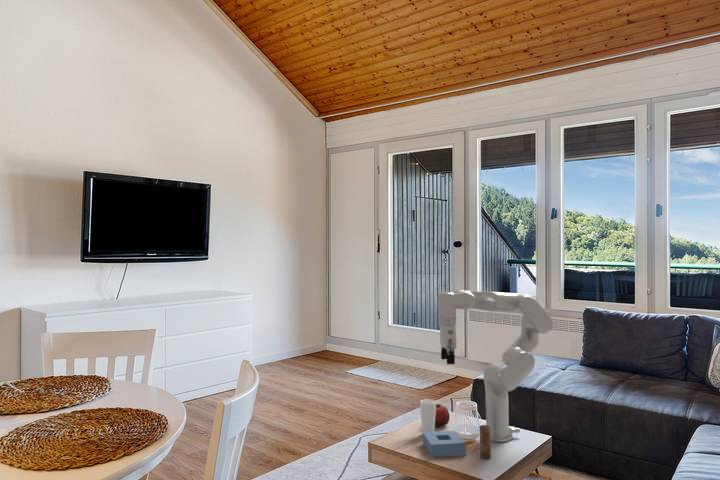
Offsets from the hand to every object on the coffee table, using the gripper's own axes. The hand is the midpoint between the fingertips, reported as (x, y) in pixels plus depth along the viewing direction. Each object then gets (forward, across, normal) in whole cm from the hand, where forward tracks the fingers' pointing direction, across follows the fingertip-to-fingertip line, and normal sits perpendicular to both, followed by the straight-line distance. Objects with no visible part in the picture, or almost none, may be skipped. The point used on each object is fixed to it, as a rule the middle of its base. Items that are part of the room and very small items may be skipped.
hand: (447, 361), depth 223 cm
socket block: (+34, -7, +4) cm, 35 cm away
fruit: (+35, +21, -1) cm, 40 cm away
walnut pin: (+34, -17, -10) cm, 40 cm away
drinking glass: (+34, +10, +7) cm, 36 cm away
